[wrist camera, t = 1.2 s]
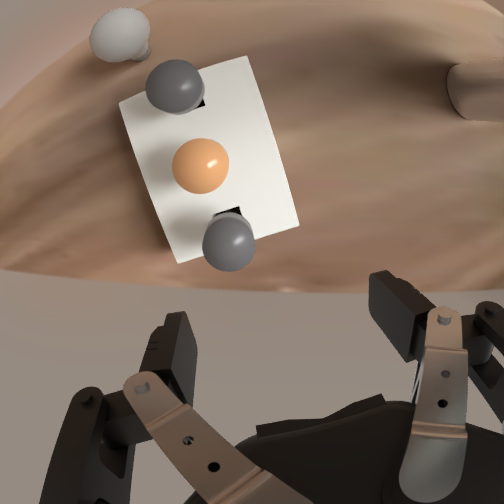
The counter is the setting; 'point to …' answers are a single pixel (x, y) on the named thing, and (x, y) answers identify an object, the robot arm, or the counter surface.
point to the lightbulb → (121, 36)
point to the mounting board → (236, 145)
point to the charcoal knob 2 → (228, 242)
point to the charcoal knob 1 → (175, 87)
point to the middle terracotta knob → (200, 165)
